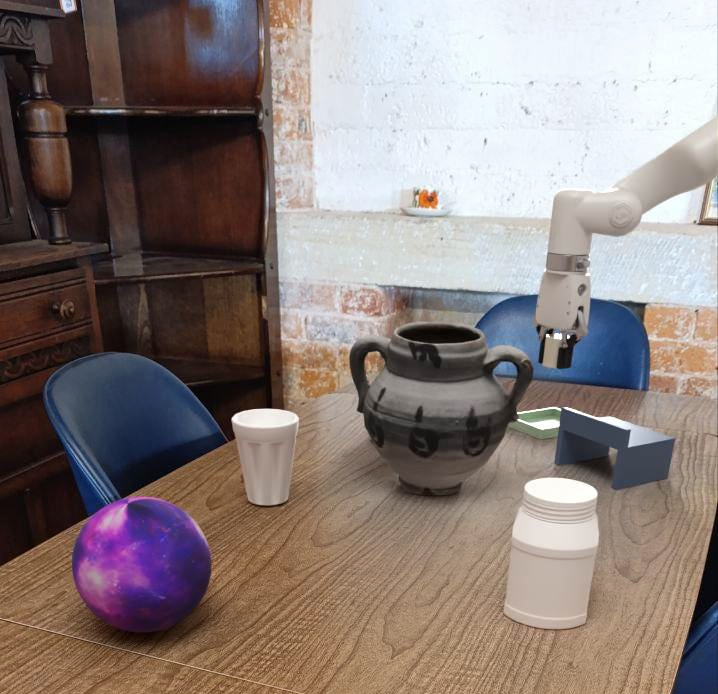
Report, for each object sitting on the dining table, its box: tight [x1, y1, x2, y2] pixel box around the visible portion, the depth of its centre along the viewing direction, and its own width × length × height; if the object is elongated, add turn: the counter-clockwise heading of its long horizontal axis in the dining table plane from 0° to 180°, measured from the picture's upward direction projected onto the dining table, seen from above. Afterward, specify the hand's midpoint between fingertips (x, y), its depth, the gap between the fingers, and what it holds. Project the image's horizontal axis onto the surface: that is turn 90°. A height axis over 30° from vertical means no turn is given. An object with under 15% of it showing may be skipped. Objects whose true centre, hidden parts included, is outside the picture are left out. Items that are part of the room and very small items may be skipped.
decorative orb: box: [71, 496, 212, 633], centre depth 97 cm, size 15×15×15 cm
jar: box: [502, 477, 600, 630], centre depth 103 cm, size 12×10×15 cm
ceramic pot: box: [349, 321, 535, 496], centre depth 137 cm, size 29×23×25 cm
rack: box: [553, 406, 676, 491], centre depth 149 cm, size 12×15×10 cm
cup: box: [231, 408, 300, 506], centre depth 133 cm, size 10×10×13 cm
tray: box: [507, 406, 561, 440], centre depth 173 cm, size 13×11×2 cm
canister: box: [541, 333, 570, 369], centre depth 167 cm, size 4×4×6 cm
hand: (554, 364), depth 168 cm, fingers closed on canister, 4 cm apart
